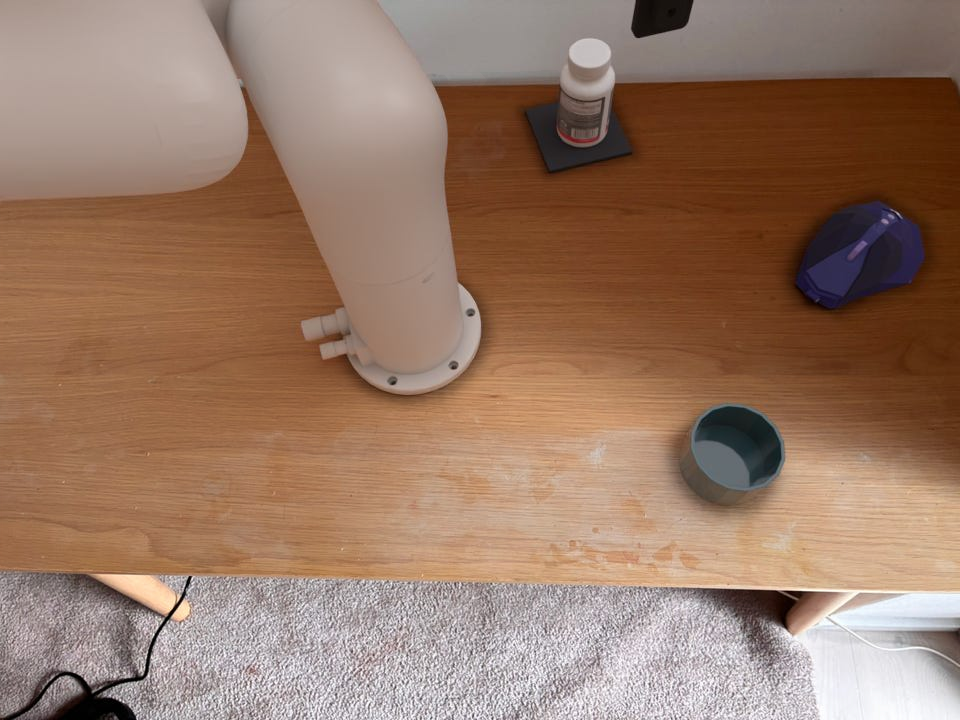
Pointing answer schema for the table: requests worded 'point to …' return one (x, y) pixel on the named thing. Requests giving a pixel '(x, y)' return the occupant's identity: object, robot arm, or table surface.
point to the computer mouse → (860, 255)
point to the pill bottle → (585, 93)
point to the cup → (731, 454)
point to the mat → (566, 155)
